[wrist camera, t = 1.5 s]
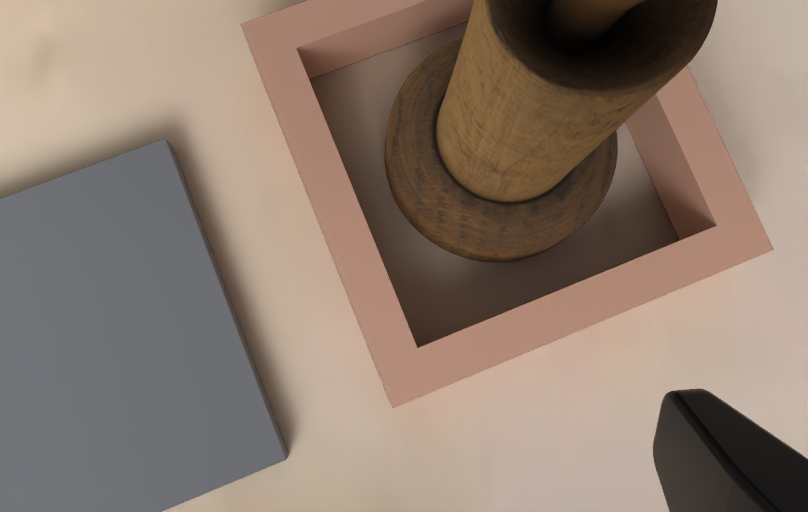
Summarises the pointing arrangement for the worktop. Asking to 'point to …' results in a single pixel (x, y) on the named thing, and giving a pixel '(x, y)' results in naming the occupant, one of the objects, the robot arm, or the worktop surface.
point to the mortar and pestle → (529, 117)
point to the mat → (120, 347)
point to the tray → (540, 318)
